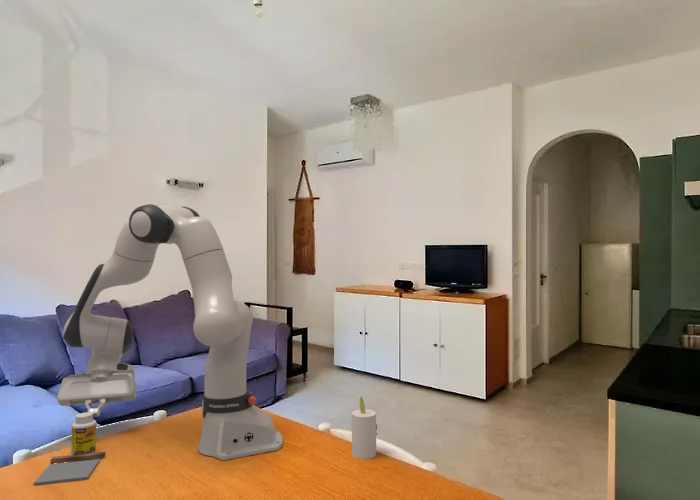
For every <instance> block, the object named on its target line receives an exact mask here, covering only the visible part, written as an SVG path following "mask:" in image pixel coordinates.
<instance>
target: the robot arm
mask: <svg viewBox="0 0 700 500" xmlns="http://www.w3.org/2000/svg"><path fill="white" fill-rule="evenodd" d="M161 244H167V245H171V244H173V245H174V244H175V246H177V247H178V249H179V251H180V255H181V257H182V261H183V264H184V267H185V271H186V274H187V277H188V280H189V283H190V286H191V291H192V297H193V299H192V300H193V307H194V322H193V324H192V325H193V326H192V327H193V333H194V336H195V338H196V340H197V341H198V342H200V343H201V344H203V345H204V346H206V347H207V346H208V347H209V351H208V354H207V359H206V361H205V364H204V392H203V396H202V400H201V406H202V407H201V414H202V417H203V420H202V428H201V434H200V439H199V442H198V447H197V451H198V452H199V453H200V454H202V455H205V456H209V457H215V458H217V459H218V460H223V461H224V460H225V461H227V460H232V459H237V458H243V457H247V456H252V455H257V454H263V453H269V452H274V451H278V450H280V448H282V447H283V444H284V441H283V440H284V439H283V435H282V434H281V432H280V431H278V430H276V429H275V425H274V421H273V420H272V416H270V415H269V413H267V412H266V411H263V410H262V409H260V408H259V407H258V406H256V403H257V399H256V397H255V396H254V393H252V391H248V390H247V365H248V364H247V362H248V355H249V347H250V340H251V339H250V338H251V332H252V324H253V321H254V314H253V312H252V309H251V308H250V307H249V306H248V305H247V304H245V303H243V302H242V301H239V300H234V298H235V297H234V293H233V292H234V291H233V284H232V281H233V274H232V272H231V268H230V266H229V263H228V262H229V261H228V260H227V257H226V253H225V250H224V248H223V247H224V246H223V245H222V242H221V240H220V237H219V235H218V233H217V231H216V229H215V227H214V225H213V223H212V222H211V221H210V220H209V219H208V218H206V217H204V216H200V215H199V213H198V212H197V211H196V210H194V209H193V208H190V207H187V206H178V205H174V204H173V205H172V204H167V203H165V204H162V203H161V204H152V203H150V204H144V205H141V206H138V207H135V209H133V211H132V212H131V213H130V216H129V219H128V220H126V221H125V223H124V224H123V227H122V229H120V232H119V235H118V237H117V240H116V243H115V246H114V250H113V252H112V254H111V257H110V258H109V259H108V260H107V261H106V262H104V263H101V264H100V263H99V264H98V265H97V266H96V267H95V269H94V271H93V272H92V274H91V276H90V278H89V279H88V281H87V283H86V286H85V287H84V290H83V291H82V293H81V296H80V297H79V299H78V301H77V303H76V306H75V308H74V310H73V312H72V314H71V315H70V316H69V318H68V319H67V321H66V323H65V324H64V327H63V329H62V339H63V340H64V342H65V343H66V344H67V345H68V346H69V347H70V348H89V349H91V357H90V359H89V361H88V364H87V368H86V371H85V372H86V373H80V374H79V373H78V374H69V375H68V376H65V377H64V378H63V379H62V381H61V383H60V384H61V385H60V388H59V391H58V393H57V397H56V400H57V403H58V404H59V405H60V406H61V407H68V406H80V405H81V406H83V405H85V408H86V409H87V412H91V413H93V418H97V417H100V416H101V412H102V411H103V410H104V408H105V407H107V403H118V402H119V403H121V402H132V401H134V400H135V399H136V397H137V382H136V373H135V369H134V367H133V365H132V364H130V363H125V362H122V361H121V360H122V359H121V358H122V357H123V355H124V354H125V353H127V352H128V351H129V350H130V349H131V347H132V343H133V336H134V333H135V327H134V325H133V323H132V322H131V321H130V320H129V319H125V318H119V317H113V316H112V317H111V316H110V317H109V316H104V315H97V314H93V313H91V310H92V308H93V306H94V304H95V302H96V300H97V298H98V297H99V295H100V293H102V292H103V291H104V290H106V289H110V288H115V287H119V286H120V287H121V286H127V285H128V286H129V285H132V284H135V283H138V282H140V281H142V280H144V279H146V278H147V276H148V275H149V274H150V272H151V270H152V267H153V265H154V261H155V257H156V254H157V249H158V247H159V245H161ZM93 404H95V405H96V404H99V405H98V406H97V407H96V408H91V407H93Z"/></svg>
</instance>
